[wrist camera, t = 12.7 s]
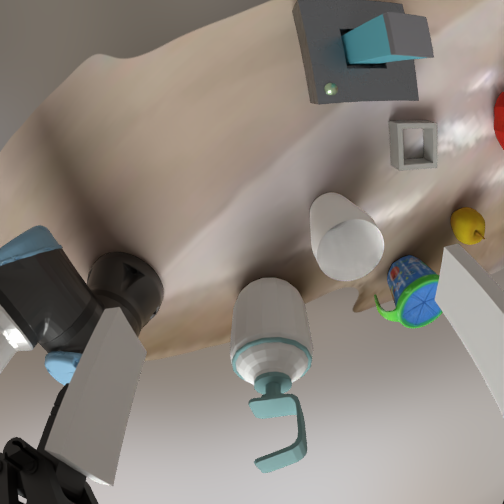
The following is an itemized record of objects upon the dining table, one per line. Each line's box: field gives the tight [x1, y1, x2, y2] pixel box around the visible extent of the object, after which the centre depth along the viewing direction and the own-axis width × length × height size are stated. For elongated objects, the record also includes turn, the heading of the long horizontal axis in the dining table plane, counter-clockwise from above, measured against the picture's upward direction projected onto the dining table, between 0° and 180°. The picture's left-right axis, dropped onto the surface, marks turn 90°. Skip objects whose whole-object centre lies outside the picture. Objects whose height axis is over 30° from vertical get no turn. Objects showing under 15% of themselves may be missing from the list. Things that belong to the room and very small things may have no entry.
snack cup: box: [374, 255, 443, 328], centre depth 46 cm, size 16×10×10 cm
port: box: [292, 0, 419, 104], centre depth 29 cm, size 14×14×6 cm
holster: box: [388, 120, 437, 171], centre depth 37 cm, size 7×7×3 cm
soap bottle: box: [230, 278, 313, 473], centre depth 40 cm, size 12×12×31 cm
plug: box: [341, 12, 434, 66], centre depth 24 cm, size 4×4×17 cm
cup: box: [310, 193, 384, 281], centre depth 39 cm, size 9×9×12 cm
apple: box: [450, 207, 485, 245], centre depth 41 cm, size 6×6×8 cm
